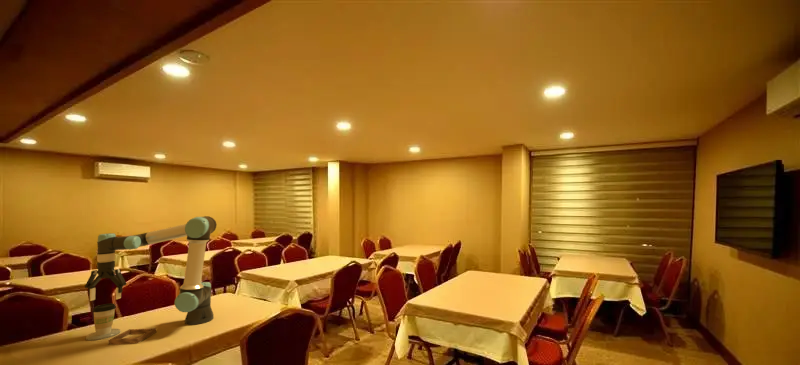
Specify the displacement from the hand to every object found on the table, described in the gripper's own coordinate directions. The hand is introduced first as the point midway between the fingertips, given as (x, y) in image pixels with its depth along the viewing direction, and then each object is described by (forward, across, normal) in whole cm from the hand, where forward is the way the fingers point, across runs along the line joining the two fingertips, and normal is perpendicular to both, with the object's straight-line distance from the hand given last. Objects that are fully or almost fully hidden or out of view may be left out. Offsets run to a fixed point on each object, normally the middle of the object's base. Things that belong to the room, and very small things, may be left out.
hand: (105, 299), depth 183 cm
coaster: (+19, +1, 0) cm, 19 cm away
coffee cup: (+19, +1, 0) cm, 19 cm away
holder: (+20, -19, +6) cm, 28 cm away
